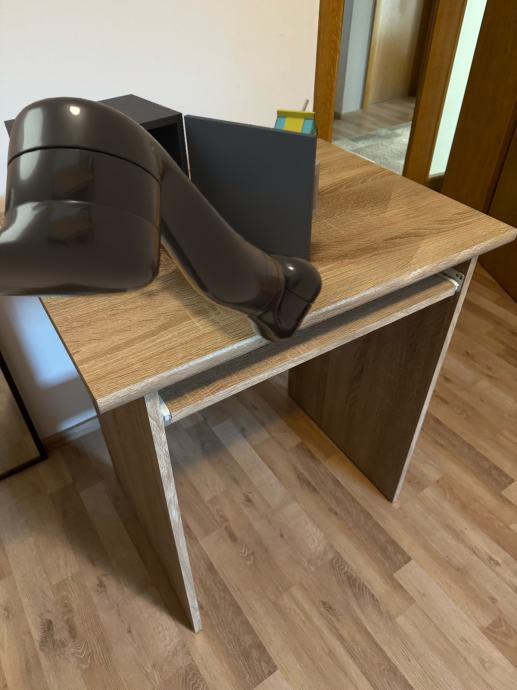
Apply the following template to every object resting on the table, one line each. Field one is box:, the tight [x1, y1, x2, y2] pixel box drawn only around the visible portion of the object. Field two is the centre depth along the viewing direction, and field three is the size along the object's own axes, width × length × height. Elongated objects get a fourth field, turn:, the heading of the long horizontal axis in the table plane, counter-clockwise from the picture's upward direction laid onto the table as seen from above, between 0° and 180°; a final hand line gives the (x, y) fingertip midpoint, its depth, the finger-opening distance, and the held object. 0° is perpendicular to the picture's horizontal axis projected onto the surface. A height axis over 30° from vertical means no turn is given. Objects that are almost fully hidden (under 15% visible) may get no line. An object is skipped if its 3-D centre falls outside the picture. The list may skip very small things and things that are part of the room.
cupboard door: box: [183, 114, 321, 262], centre depth 80 cm, size 6×22×20 cm, turn 61°
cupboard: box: [3, 93, 191, 180], centre depth 83 cm, size 16×22×20 cm
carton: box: [273, 98, 319, 150], centre depth 94 cm, size 7×8×18 cm
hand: (142, 210), depth 78 cm, fingers open, 8 cm apart
